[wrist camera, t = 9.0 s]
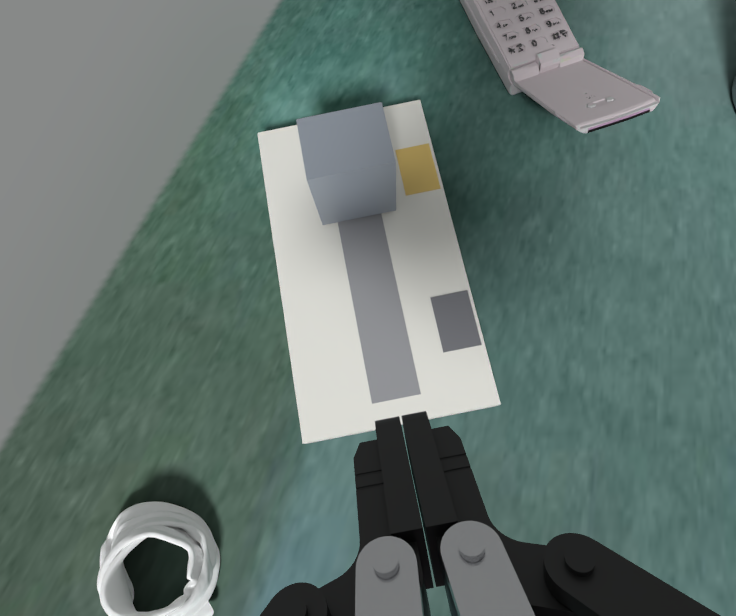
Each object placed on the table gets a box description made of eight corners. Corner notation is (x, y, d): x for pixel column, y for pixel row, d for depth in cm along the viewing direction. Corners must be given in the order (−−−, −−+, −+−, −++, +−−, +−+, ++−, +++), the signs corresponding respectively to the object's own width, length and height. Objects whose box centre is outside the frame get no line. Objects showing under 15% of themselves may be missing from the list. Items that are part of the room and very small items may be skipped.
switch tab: (384, 158, 32) (381, 101, 27) (396, 210, 31) (395, 162, 26) (313, 173, 32) (296, 119, 27) (322, 225, 31) (306, 179, 26)
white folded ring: (105, 532, 30) (41, 549, 26) (190, 472, 30) (142, 478, 26) (154, 658, 28) (93, 702, 23) (247, 592, 28) (206, 622, 23)
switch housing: (418, 117, 36) (420, 99, 34) (493, 406, 30) (500, 404, 28) (265, 149, 36) (257, 132, 34) (308, 443, 30) (302, 443, 28)
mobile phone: (577, 134, 28) (427, -138, 35) (545, 185, 34) (422, -57, 40) (668, 103, 28) (502, -161, 35) (622, 159, 34) (487, -77, 41)
